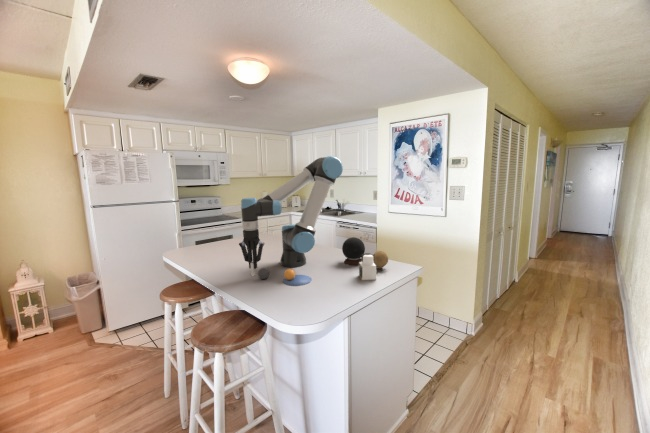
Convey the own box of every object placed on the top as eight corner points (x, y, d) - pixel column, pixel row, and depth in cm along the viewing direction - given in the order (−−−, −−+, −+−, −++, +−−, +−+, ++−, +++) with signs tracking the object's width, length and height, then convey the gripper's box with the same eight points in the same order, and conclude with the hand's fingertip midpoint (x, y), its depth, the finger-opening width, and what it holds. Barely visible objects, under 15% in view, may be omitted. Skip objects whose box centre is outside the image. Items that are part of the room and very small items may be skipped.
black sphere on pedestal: (339, 265, 163) (339, 239, 161) (345, 258, 175) (345, 234, 173) (362, 267, 158) (362, 240, 156) (367, 260, 170) (367, 235, 168)
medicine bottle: (359, 275, 146) (358, 252, 144) (372, 274, 146) (372, 251, 145) (362, 280, 139) (361, 256, 137) (376, 279, 139) (376, 255, 138)
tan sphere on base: (390, 271, 151) (390, 252, 149) (373, 271, 150) (373, 253, 149) (385, 265, 160) (385, 248, 158) (369, 266, 159) (369, 249, 158)
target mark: (314, 275, 147) (314, 275, 147) (307, 286, 133) (307, 286, 133) (288, 274, 149) (288, 274, 149) (279, 285, 136) (279, 284, 136)
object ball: (284, 268, 145) (287, 278, 145) (281, 272, 139) (284, 282, 140) (295, 266, 144) (297, 276, 144) (291, 270, 138) (294, 280, 139)
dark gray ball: (259, 268, 147) (263, 278, 148) (254, 272, 142) (259, 282, 142) (268, 265, 146) (272, 274, 146) (263, 269, 140) (268, 279, 141)
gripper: (234, 230, 139) (238, 276, 143) (259, 230, 137) (262, 277, 140) (242, 227, 147) (245, 271, 150) (266, 227, 144) (268, 272, 148)
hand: (253, 274), depth 145 cm, fingers closed
